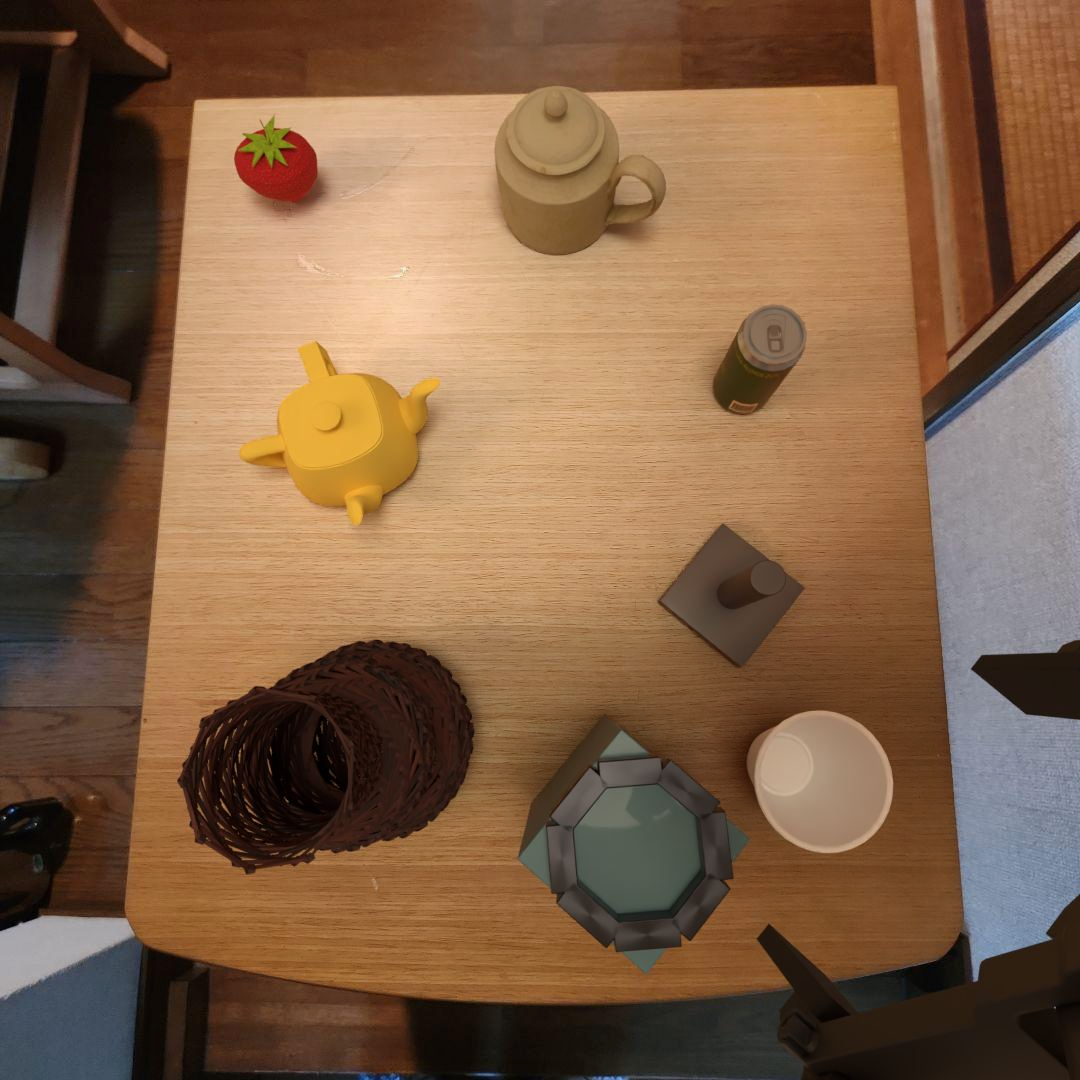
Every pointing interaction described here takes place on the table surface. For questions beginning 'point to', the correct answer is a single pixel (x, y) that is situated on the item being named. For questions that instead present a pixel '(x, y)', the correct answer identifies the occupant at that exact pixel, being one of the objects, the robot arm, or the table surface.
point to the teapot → (344, 435)
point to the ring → (650, 925)
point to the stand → (622, 836)
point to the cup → (821, 781)
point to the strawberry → (277, 163)
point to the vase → (330, 757)
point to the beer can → (759, 358)
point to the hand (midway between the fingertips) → (899, 816)
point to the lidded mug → (566, 172)
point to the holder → (731, 595)
